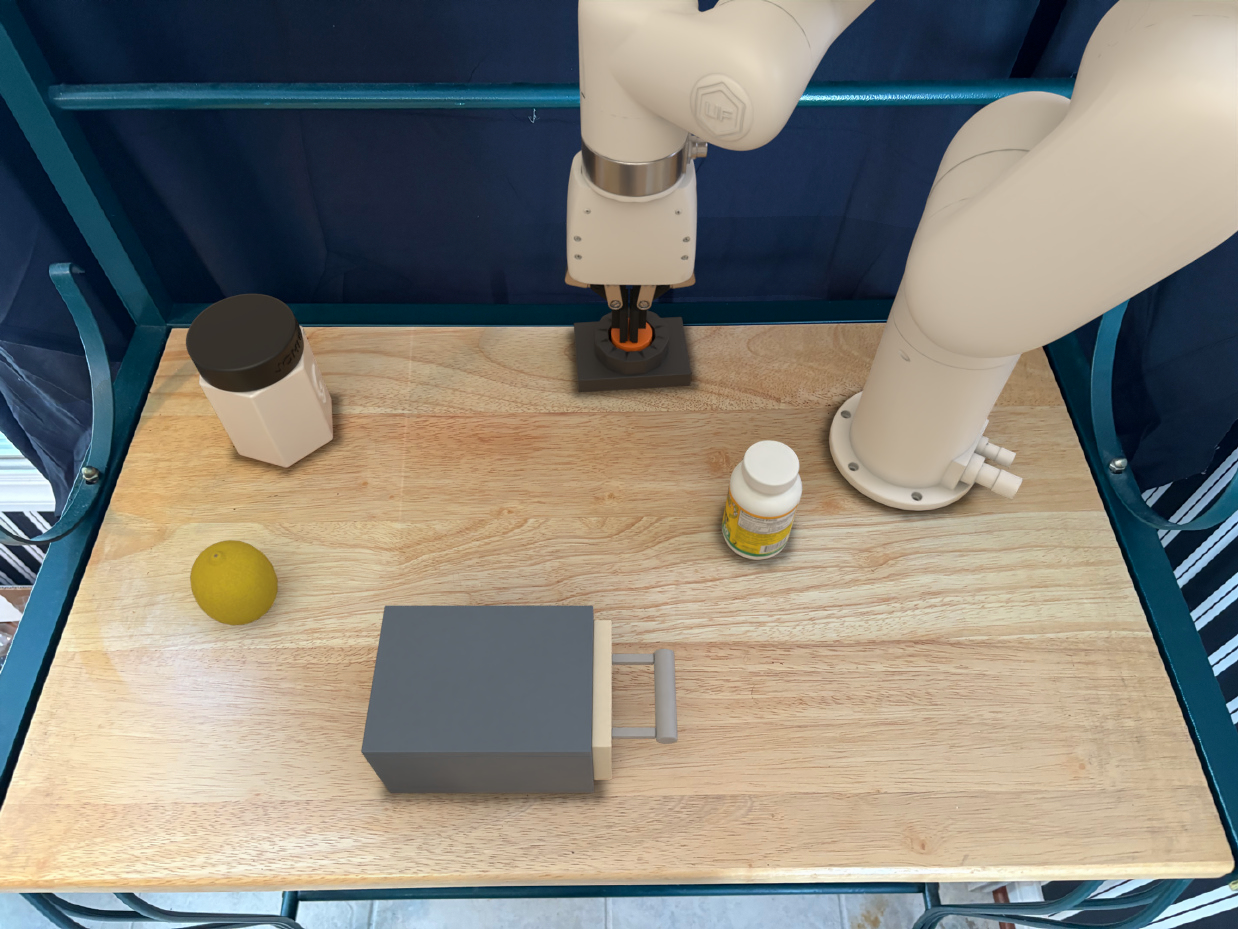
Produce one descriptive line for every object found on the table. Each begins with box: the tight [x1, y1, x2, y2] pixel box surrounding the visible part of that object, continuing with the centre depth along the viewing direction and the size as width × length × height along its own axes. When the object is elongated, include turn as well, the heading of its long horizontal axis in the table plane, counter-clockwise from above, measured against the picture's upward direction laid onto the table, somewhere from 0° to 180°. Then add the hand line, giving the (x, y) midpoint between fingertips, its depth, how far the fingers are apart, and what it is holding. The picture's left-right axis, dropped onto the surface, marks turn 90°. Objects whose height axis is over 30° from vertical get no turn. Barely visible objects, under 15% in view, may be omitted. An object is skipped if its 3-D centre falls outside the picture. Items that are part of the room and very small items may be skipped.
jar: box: [185, 293, 334, 469], centre depth 73 cm, size 9×8×12 cm
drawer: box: [592, 619, 679, 781], centre depth 60 cm, size 17×8×7 cm, turn 90°
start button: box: [611, 318, 652, 352], centre depth 81 cm, size 4×4×2 cm
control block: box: [573, 307, 692, 393], centre depth 82 cm, size 10×7×4 cm
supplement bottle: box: [721, 439, 803, 561], centre depth 69 cm, size 5×5×10 cm
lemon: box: [189, 539, 279, 626], centre depth 65 cm, size 6×6×8 cm
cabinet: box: [360, 605, 595, 794], centre depth 60 cm, size 14×10×9 cm
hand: (628, 330), depth 80 cm, fingers closed
